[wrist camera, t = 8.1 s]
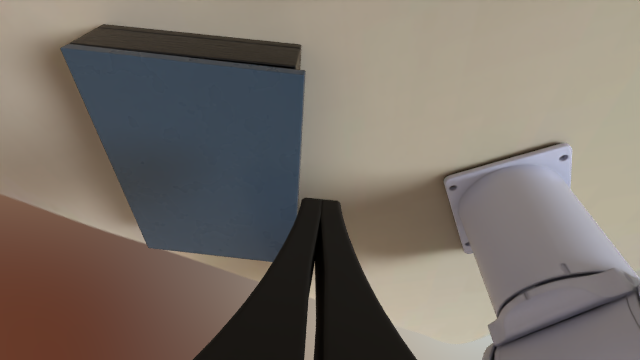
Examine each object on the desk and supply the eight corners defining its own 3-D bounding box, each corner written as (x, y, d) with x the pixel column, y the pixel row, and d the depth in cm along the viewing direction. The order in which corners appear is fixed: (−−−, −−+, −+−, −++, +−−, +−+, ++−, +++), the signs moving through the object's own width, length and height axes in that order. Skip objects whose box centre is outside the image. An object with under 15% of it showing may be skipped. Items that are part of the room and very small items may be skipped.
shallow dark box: (301, 44, 18) (295, 66, 16) (293, 224, 28) (289, 253, 26) (103, 23, 18) (68, 42, 15) (167, 213, 28) (151, 241, 25)
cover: (305, 70, 15) (304, 75, 15) (294, 258, 25) (293, 264, 25) (67, 43, 15) (59, 47, 15) (151, 241, 25) (148, 248, 25)
